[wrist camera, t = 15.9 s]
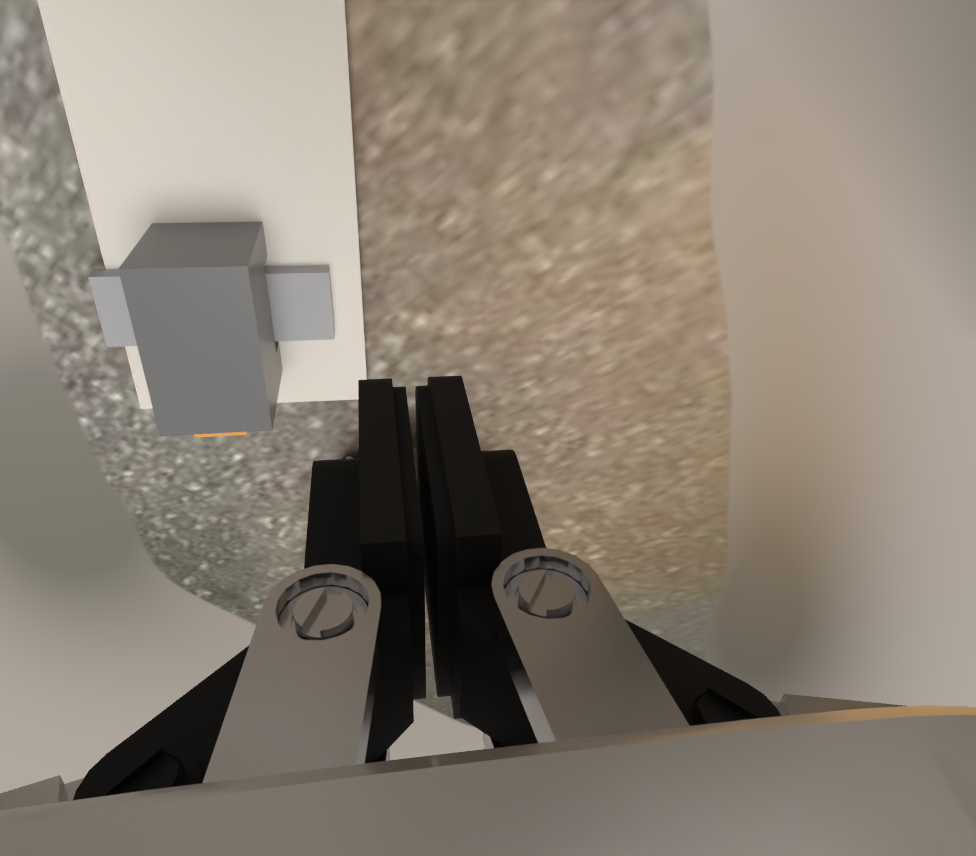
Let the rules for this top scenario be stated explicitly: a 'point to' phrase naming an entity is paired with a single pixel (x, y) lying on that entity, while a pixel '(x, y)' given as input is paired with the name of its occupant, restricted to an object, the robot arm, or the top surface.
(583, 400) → the top surface
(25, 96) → the top surface
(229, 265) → the block
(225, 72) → the plate
